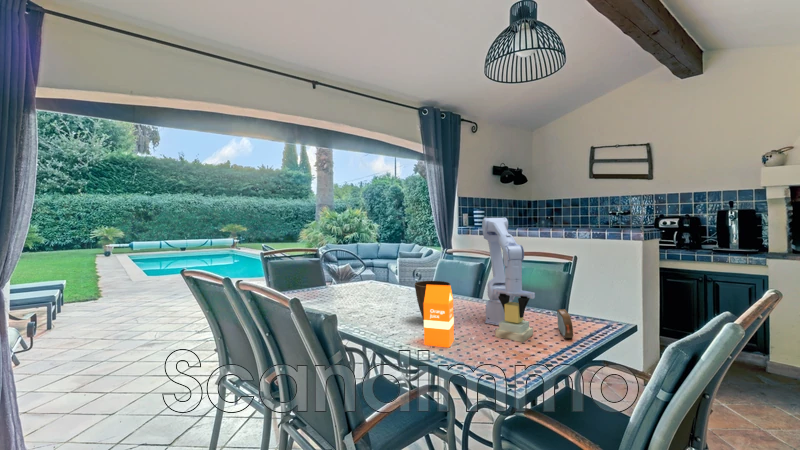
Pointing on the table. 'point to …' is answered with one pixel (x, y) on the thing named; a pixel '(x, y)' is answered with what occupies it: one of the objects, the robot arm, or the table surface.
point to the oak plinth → (514, 335)
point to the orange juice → (438, 316)
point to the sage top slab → (514, 326)
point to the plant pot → (421, 290)
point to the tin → (565, 323)
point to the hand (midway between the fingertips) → (514, 315)
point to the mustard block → (512, 312)
